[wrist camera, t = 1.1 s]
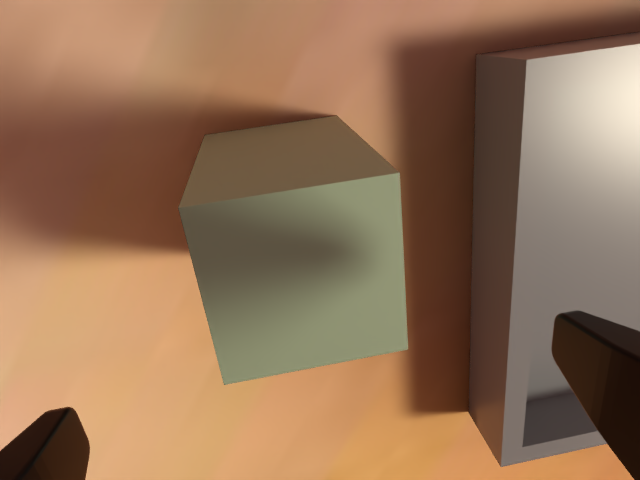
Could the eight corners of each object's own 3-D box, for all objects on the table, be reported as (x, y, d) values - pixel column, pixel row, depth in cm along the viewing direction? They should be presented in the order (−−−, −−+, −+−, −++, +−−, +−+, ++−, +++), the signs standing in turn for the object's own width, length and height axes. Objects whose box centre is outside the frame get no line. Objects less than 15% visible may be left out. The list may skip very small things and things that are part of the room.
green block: (348, 234, 20) (408, 349, 13) (230, 254, 20) (224, 384, 12) (336, 115, 18) (400, 172, 11) (204, 134, 18) (178, 207, 10)
